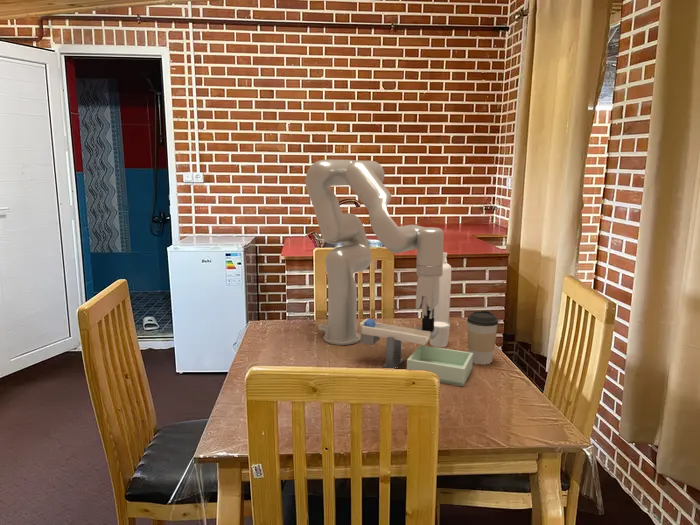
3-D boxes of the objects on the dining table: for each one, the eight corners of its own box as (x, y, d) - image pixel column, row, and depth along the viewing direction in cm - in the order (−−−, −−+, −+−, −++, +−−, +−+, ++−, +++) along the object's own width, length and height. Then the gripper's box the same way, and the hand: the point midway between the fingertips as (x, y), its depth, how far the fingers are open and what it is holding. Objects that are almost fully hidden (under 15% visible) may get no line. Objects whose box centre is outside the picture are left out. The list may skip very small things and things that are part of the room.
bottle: (446, 334, 180) (450, 255, 175) (423, 331, 183) (426, 254, 178) (450, 327, 188) (454, 252, 182) (428, 325, 191) (431, 250, 185)
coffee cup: (490, 369, 151) (493, 319, 148) (460, 362, 156) (463, 314, 153) (499, 359, 159) (502, 312, 156) (470, 353, 164) (473, 307, 161)
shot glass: (449, 348, 167) (450, 327, 166) (427, 346, 169) (428, 326, 167) (449, 341, 174) (450, 321, 173) (428, 339, 175) (429, 320, 174)
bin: (406, 376, 146) (407, 359, 145) (419, 360, 157) (419, 344, 156) (463, 386, 139) (464, 369, 138) (472, 369, 151) (473, 352, 150)
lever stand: (382, 368, 151) (383, 337, 149) (391, 358, 158) (392, 329, 156) (395, 371, 149) (396, 339, 147) (404, 361, 157) (405, 331, 155)
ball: (364, 329, 154) (363, 319, 153) (367, 326, 157) (367, 317, 156) (373, 330, 153) (373, 320, 152) (377, 327, 155) (376, 317, 155)
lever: (358, 342, 154) (359, 323, 153) (372, 331, 164) (373, 313, 163) (427, 355, 146) (429, 335, 145) (437, 342, 156) (439, 323, 155)
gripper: (423, 264, 159) (422, 322, 162) (409, 274, 145) (408, 336, 149) (448, 266, 156) (446, 324, 159) (435, 276, 142) (434, 340, 146)
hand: (427, 330), depth 154 cm, fingers closed
